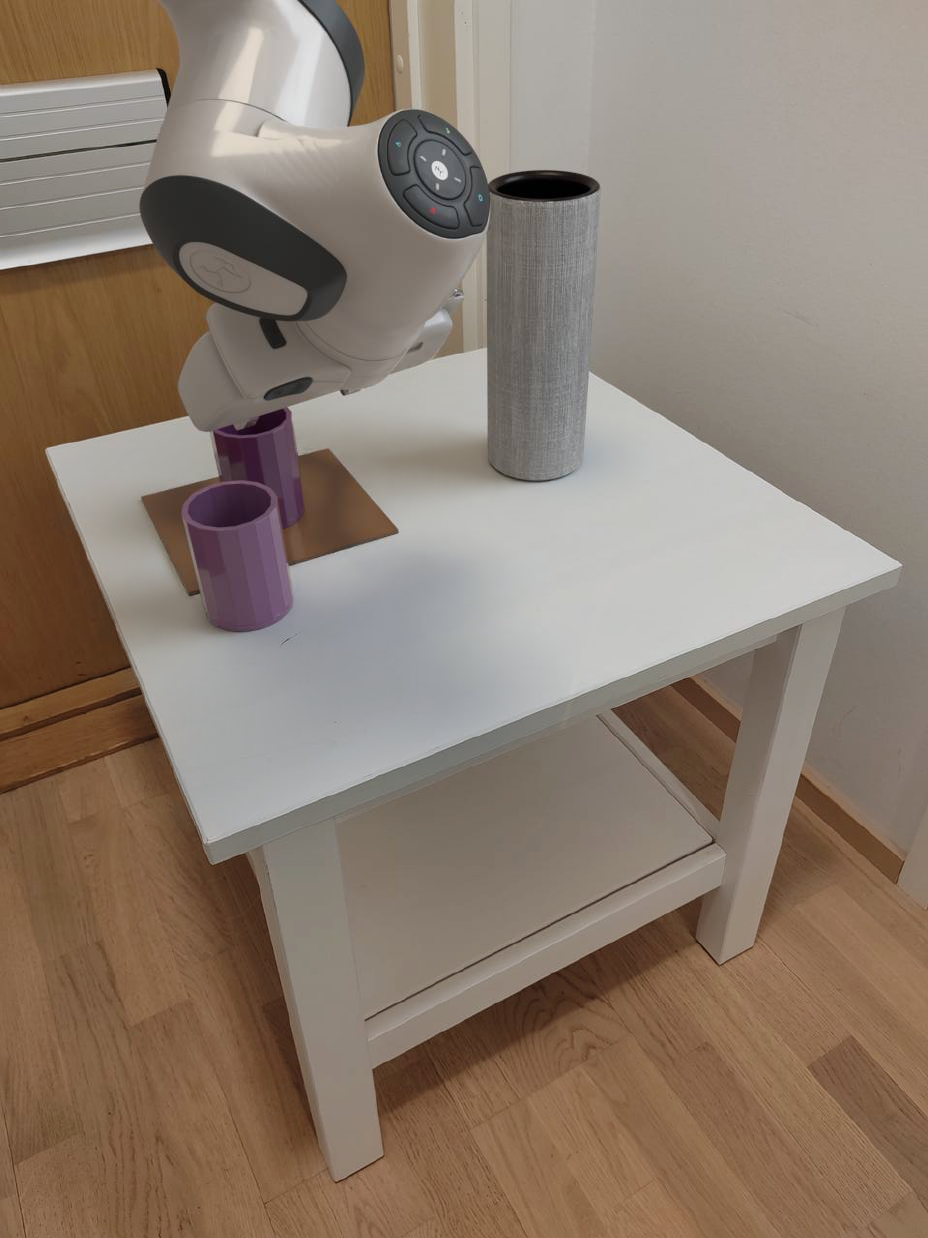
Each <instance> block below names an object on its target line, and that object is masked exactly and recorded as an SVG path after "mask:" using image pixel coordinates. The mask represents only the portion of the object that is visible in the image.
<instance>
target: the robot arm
mask: <svg viewBox="0 0 928 1238" xmlns="http://www.w3.org/2000/svg"><path fill="white" fill-rule="evenodd" d="M155 1H156V2H157V3H158V4H159V5H161V7H162V8H163V9H164V11H165V12H166V13H167V15H168V17H169V19H170V20H171V23H172V26H173V29H174V32H175V36H176V40H177V46H178V55H179V56H178V57H179V65H178V69H177V73H176V77H175V80H174V84H173V87H172V91H171V94H170V98H169V101H168V105H167V108H166V112H165V115H164V119H163V122H162V124H161V126H160V128H159V133H158V135H157V137H156V141H155V145H154V148H153V152H152V154H151V159H150V163H149V167H148V171H147V175H146V178H145V181H144V186H143V190H142V193H141V195H140V198H139V204H138V205H139V206H138V207H139V214H140V218H141V221H142V224H143V226H144V229H145V231H146V234H147V236H148V237H149V239H150V241H151V243H152V244H153V246H154V248H155V249H156V250H157V251H158V254H159V255H160V256H161V257H162V259H163V260H164V261H165V263H166V264H167V265H168V266H169V267H170V269H172V270H173V272H175V274H177V275H178V276H179V277H180V278H181V280H183V281H184V282H185V283H186V284H187V285H188V286H189V287H190V288H192V290H194V291H195V292H197V293H198V294H199V295H200V296H202V297H204V298H206V299H209V300H210V301H212V302H214V303H213V304H211V306H209V308H208V309H207V312H206V314H205V318H206V322H207V325H208V328H209V331H207V332H205V333H204V334H203V335H201V337H200V338H198V339H197V341H196V342H195V343H194V344H193V346H192V348H191V349H190V351H189V353H188V355H187V357H186V360H185V362H184V364H183V367H182V369H181V372H180V375H179V378H178V383H177V390H178V394H179V397H180V400H181V402H182V405H183V407H184V409H185V411H186V413H187V415H188V418H189V420H190V421H191V423H192V424H193V426H194V428H196V430H197V431H200V432H204V433H210V432H211V431H214V430H217V429H220V428H223V427H226V426H229V425H232V424H233V425H234V427H235V428H236V430H241V429H244V428H247V427H250V426H253V425H255V424H256V423H255V422H256V421H257V420H258V418H259V417H258V416H261V415H264V414H267V413H270V412H273V411H276V410H280V409H283V408H286V407H288V408H289V407H291V406H295V405H298V404H301V403H305V402H307V401H311V400H314V399H317V398H320V397H323V396H326V395H331V394H332V393H336V392H340V394H341V395H342V396H344V397H345V396H348V395H352V394H356V393H358V392H361V390H363V389H368V388H370V387H373V386H375V385H378V384H379V383H381V382H382V381H384V380H385V379H386V378H387V377H388V376H389V375H392V374H395V373H399V372H402V371H405V370H408V369H412V368H415V367H419V366H420V365H423V364H425V363H427V362H428V361H430V360H432V359H433V358H434V357H435V356H436V355H437V354H438V353H439V351H440V350H441V348H442V347H443V345H444V344H445V342H446V341H447V339H448V338H449V335H450V334H451V332H452V329H453V325H454V324H453V320H452V319H451V316H450V315H452V314H453V313H455V312H456V310H457V309H458V308H459V306H460V305H461V304H462V303H463V302H464V300H465V294H464V293H465V292H464V290H463V289H462V288H459V286H460V284H461V282H462V281H463V280H464V278H465V277H466V275H467V273H468V272H469V270H470V268H472V265H473V264H474V261H475V260H476V258H477V256H478V255H479V252H480V250H481V248H482V246H483V244H484V242H485V239H486V233H487V230H488V225H489V220H490V192H489V186H488V184H489V182H488V178H487V175H486V172H485V170H484V167H483V165H482V162H481V160H480V158H479V156H478V153H476V151H475V149H474V148H473V146H472V144H470V142H469V141H468V140H467V138H466V137H465V136H464V135H463V134H462V133H461V132H460V131H459V130H458V129H457V128H456V127H455V126H454V125H453V124H452V123H450V122H449V121H447V120H446V119H445V118H444V117H441V116H440V115H437V114H435V113H433V112H431V111H428V110H424V109H420V108H402V109H399V110H396V111H393V112H391V113H389V114H387V115H385V116H384V117H381V118H379V119H376V120H375V121H371V122H368V123H364V124H359V125H351V122H352V119H353V116H354V114H355V110H356V108H357V104H358V101H359V98H360V95H361V93H362V90H363V86H364V82H365V75H366V63H365V55H364V51H363V48H362V44H361V43H362V42H361V41H360V37H359V35H358V33H357V30H356V29H355V27H354V24H353V23H352V22H351V19H350V18H349V17H348V15H347V13H345V11H344V9H343V8H342V7H341V6H340V4H338V2H337V1H336V0H155Z"/></svg>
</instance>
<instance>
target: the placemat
mask: <svg viewBox="0 0 928 1238" xmlns="http://www.w3.org/2000/svg"><path fill="white" fill-rule="evenodd" d="M298 458H299V465H300V472H301V479H302V486H303V493H304V499H305V500H304V503H305V512H304V515H303V516H302V518H301V519H300V520H299V521H297V522H296V523H295V524H293V525H291V526H290V527H287V528H285V529H283V535H284V541H285V547H286V553H287V559H288V565H289V566H292V565H296V564H299V563H303V562H305V561H308V560H312V559H316V558H319V557H322V556H326V555H329V554H332V553H335V552H339V551H342V550H344V549H348V548H351V547H355V546H358V545H362V544H365V543H369V542H373V541H375V540H379V539H382V538H386V537H388V536H392V535H395V534H399V528H398V527H397V526H396V524H394V523H393V521H392V520H391V519H390V518H389V517H388V516H387V514H386V513H385V512H384V511H383V510H382V508H381V507H380V506H379V505H378V504H377V503H376V502H375V500H373V498H372V497H371V496H370V494H369V493H368V492H367V491H366V490H365V489H364V488H363V486H362V485H361V484H360V483H359V482H358V481H357V479H356V478H355V477H354V476H353V475H352V474H351V473H350V472H349V470H348V469H347V468H346V466H345V465H344V464H343V463H342V462H341V461H340V459H338V457H337V456H336V455H335V454H334V453H333V451H332V450H331V449H330V448H329V447H326V448H323V449H319V450H315V451H311V452H309V453H303V454H299V455H298ZM217 483H220V480H219V476H216V477H215V476H214V477H212V478H207V479H204V480H203V479H202V480H199V481H196V482H192V483H188V484H185V485H180V486H177V487H172V488H168V489H165V490H162V491H157V492H153V493H150V494H146V495H142V496H140V499H141V501H142V504H143V505H144V507H145V510H146V511H147V514H148V516H149V518H150V520H151V522H152V523H153V526H154V528H155V530H156V532H157V534H158V535H159V538H160V540H161V542H162V544H163V546H164V548H165V550H166V552H167V555H169V559H170V560H171V563H172V564H173V566H174V569H175V570H176V572H177V574H178V576H179V579H180V580H181V583H182V584H183V586H184V589H185V590H186V593H187V595H188V596H193V595H196V594H199V593H200V589H199V585H198V580H197V576H196V572H195V568H194V564H193V560H192V556H191V552H190V548H189V543H188V539H187V535H186V531H185V527H184V523H183V519H182V515H181V513H182V507H183V504H184V502H185V501H186V500H187V499H188V498H189V497H190V496H191V495H192V494H193V493H195V492H197V491H199V490H201V489H203V488H204V487H207V486H210V485H213V484H217Z"/></svg>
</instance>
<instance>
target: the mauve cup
mask: <svg viewBox="0 0 928 1238" xmlns="http://www.w3.org/2000/svg"><path fill="white" fill-rule="evenodd" d="M181 515H182V519H183V523H184V527H185V531H186V535H187V539H188V543H189V548H190V552H191V556H192V560H193V564H194V568H195V572H196V576H197V580H198V585H199V589H200V592H199V593H200V597H201V600H202V605H203V608H204V610H205V614H206V616H207V618H208V620H209V621H210V622H211V624H213V625H214V626H216V627H218V628H220V629H224V630H225V631H226V630H227V631H234V632H251V631H257V630H261V629H265V628H268V627H270V626H272V625H274V624H275V623H278V622H279V621H281V620H282V619H283V618H284V617H285V616H287V615H288V613H289V612H290V610H291V609H292V607H293V604H294V594H293V590H294V589H293V584H292V576H291V571H290V565H288V559H287V553H286V547H285V541H284V535H283V529H282V523H281V517H280V511H279V505H278V499H277V495H276V494H275V493H274V492H273V491H272V489H271V488H270V487H267V486H265V485H263V484H261V483H258V482H251V481H244V480H242V481H241V480H238V481H226V482H221V483H217V484H213V485H210V486H207V487H204V488H203V489H201V490H199V491H197V492H195V493H193V494H192V495H191V496H190V497H189V498H188V499H187V500H186V501H185V502H184V504H183V507H182V513H181Z"/></svg>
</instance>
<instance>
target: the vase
mask: <svg viewBox="0 0 928 1238" xmlns="http://www.w3.org/2000/svg"><path fill="white" fill-rule="evenodd" d="M488 186H489V192H490V220H489V225H488V230H487V233H486V236H485V239H486V241H485V242H486V378H487V379H486V383H487V384H486V385H487V386H486V388H487V389H486V391H487V392H486V395H487V396H486V398H487V399H486V404H487V406H486V407H487V418H486V419H487V455H488V456H487V457H488V462H489V463H490V465H491V466H492V467H493V468H494V469H495V470H496V471H498V472H499V473H501V474H503V475H505V476H507V477H511V478H512V479H513V478H514V479H517V480H522V481H530V482H531V481H532V482H535V481H537V482H538V481H539V482H540V481H541V482H542V481H550V480H556V479H559V478H563V477H565V476H567V475H569V474H571V473H573V472H575V471H576V470H577V469H578V468H579V467H580V466H581V464H582V462H583V458H584V451H585V439H586V424H587V423H586V422H587V408H588V391H589V378H590V376H589V375H590V361H591V345H592V333H593V331H592V330H593V317H594V316H593V315H594V301H595V284H596V269H597V254H598V241H599V240H598V239H599V225H600V223H599V222H600V210H601V209H600V207H601V191H602V188H601V184H600V182H599V181H597V180H596V179H595V178H593V177H591V176H589V175H586V174H584V173H583V174H582V173H579V172H575V171H567V170H557V169H556V170H555V169H534V170H533V169H532V170H522V171H515V172H510V173H509V172H508V173H505V174H502V175H499V176H497V177H495V178H493V179H492V180H491V181H489V182H488Z"/></svg>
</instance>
